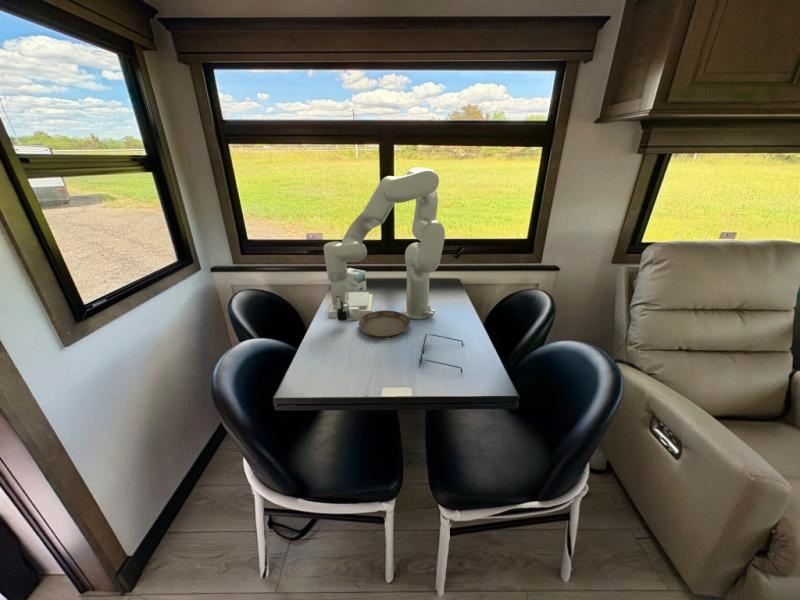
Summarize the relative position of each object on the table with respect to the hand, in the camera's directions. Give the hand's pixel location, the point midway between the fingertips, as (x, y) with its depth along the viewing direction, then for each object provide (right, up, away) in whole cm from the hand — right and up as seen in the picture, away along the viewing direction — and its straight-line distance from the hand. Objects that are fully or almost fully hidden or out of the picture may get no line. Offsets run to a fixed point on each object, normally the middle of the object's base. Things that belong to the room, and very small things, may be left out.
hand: (343, 316), depth 134 cm
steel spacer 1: (0, -1, 0) cm, 1 cm away
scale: (+1, +2, +17) cm, 17 cm away
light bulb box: (-1, +11, +37) cm, 39 cm away
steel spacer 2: (-3, +7, +16) cm, 18 cm away
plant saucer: (+17, -5, +1) cm, 18 cm away
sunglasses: (+38, -14, -18) cm, 44 cm away
